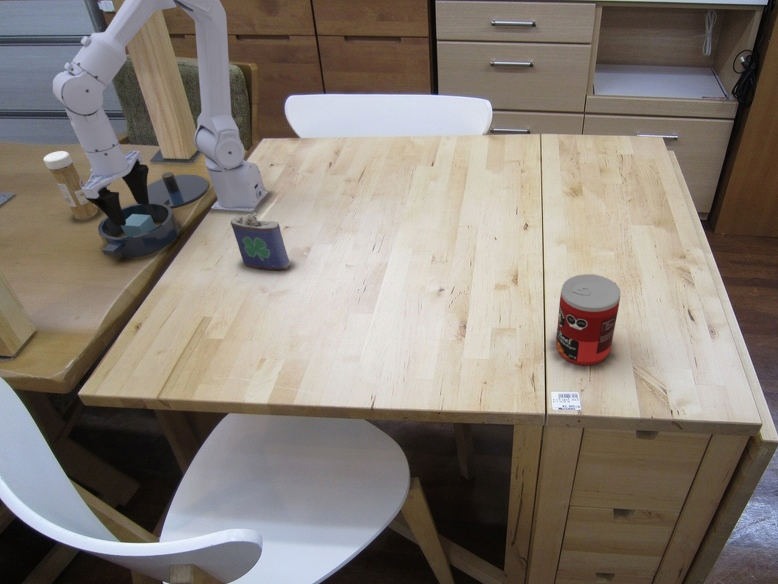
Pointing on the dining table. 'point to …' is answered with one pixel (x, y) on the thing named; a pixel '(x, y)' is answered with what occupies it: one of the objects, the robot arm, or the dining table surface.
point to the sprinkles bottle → (69, 184)
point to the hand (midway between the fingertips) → (132, 213)
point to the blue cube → (138, 225)
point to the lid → (177, 189)
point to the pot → (145, 241)
